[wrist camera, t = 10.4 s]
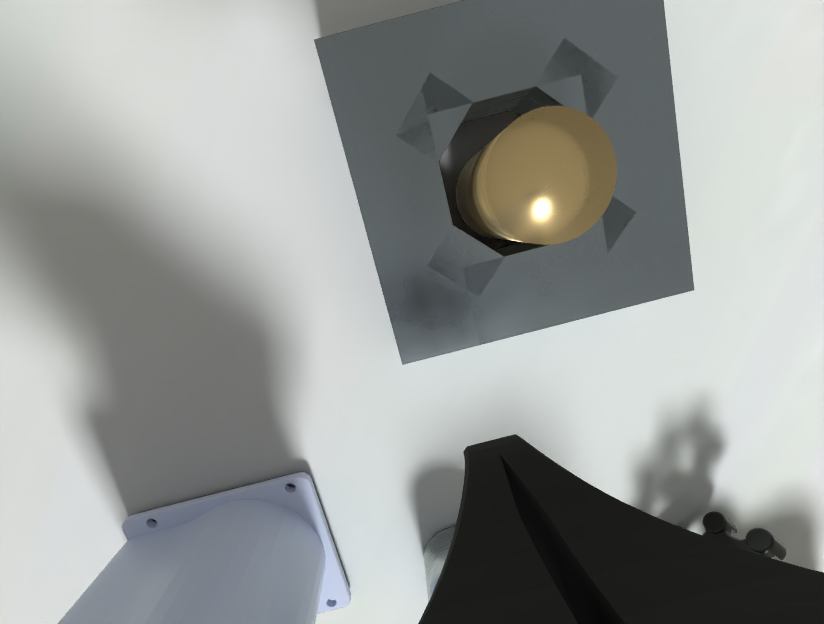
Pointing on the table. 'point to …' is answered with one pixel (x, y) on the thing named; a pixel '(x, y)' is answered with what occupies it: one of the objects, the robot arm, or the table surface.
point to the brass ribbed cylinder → (539, 178)
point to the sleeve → (436, 557)
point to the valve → (754, 542)
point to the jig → (522, 92)
